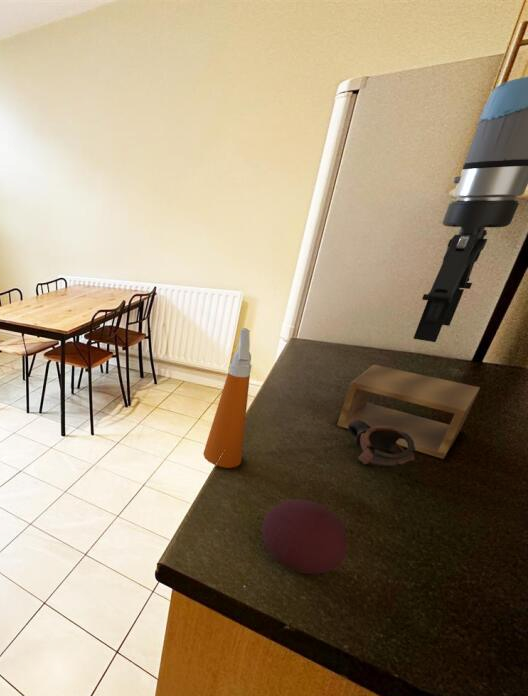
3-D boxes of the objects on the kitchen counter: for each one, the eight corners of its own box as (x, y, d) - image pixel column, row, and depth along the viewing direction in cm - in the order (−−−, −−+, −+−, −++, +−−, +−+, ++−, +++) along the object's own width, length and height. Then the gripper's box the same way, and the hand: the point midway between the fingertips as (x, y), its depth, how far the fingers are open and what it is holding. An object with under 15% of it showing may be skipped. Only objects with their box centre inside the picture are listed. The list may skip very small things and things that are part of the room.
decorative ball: (283, 593, 56) (301, 537, 52) (242, 538, 65) (255, 486, 61) (354, 588, 56) (378, 532, 52) (304, 534, 65) (321, 482, 61)
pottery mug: (419, 464, 82) (434, 442, 76) (380, 490, 81) (393, 470, 75) (358, 424, 90) (368, 402, 84) (323, 448, 90) (331, 427, 84)
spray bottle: (239, 444, 89) (265, 326, 79) (241, 471, 80) (271, 343, 70) (204, 437, 92) (224, 323, 82) (202, 464, 83) (225, 339, 73)
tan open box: (459, 432, 91) (480, 387, 86) (443, 459, 82) (466, 410, 78) (359, 404, 104) (373, 364, 100) (336, 425, 95) (351, 382, 91)
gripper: (462, 198, 73) (418, 314, 82) (436, 201, 59) (386, 342, 68) (526, 197, 68) (472, 322, 77) (514, 200, 54) (450, 353, 62)
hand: (432, 331), depth 72 cm, fingers open, 13 cm apart
